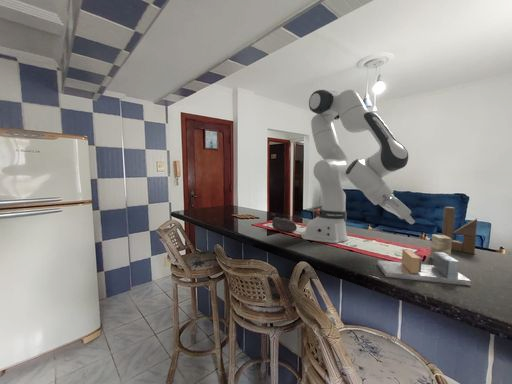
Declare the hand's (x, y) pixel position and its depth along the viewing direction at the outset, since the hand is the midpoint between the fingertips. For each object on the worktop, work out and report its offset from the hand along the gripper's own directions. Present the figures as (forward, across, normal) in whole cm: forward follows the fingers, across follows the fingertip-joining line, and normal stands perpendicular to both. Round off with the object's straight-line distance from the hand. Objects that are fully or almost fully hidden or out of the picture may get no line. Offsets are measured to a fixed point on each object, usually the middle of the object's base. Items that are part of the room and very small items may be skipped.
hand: (407, 220), depth 87 cm
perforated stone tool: (-26, +28, +46) cm, 60 cm away
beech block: (+18, 0, +2) cm, 19 cm away
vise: (+9, -16, +11) cm, 22 cm away
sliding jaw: (+6, -16, +12) cm, 21 cm away
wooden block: (+28, +15, -7) cm, 32 cm away
